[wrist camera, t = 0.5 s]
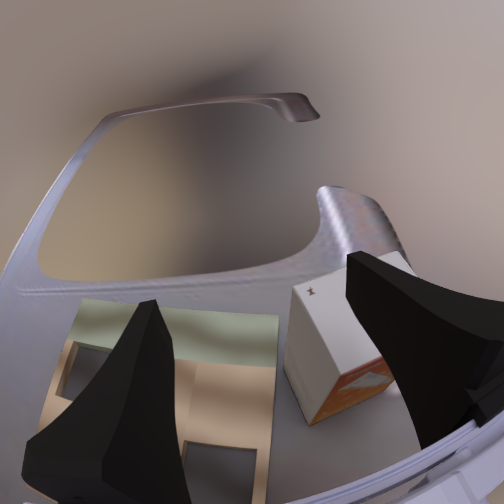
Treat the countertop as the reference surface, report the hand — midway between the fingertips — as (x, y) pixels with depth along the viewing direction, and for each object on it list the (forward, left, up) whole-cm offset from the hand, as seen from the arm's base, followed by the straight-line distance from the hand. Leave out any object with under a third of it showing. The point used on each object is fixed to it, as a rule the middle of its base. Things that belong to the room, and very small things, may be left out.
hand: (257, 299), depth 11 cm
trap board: (-2, +10, -18) cm, 21 cm away
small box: (+4, -6, -18) cm, 20 cm away
